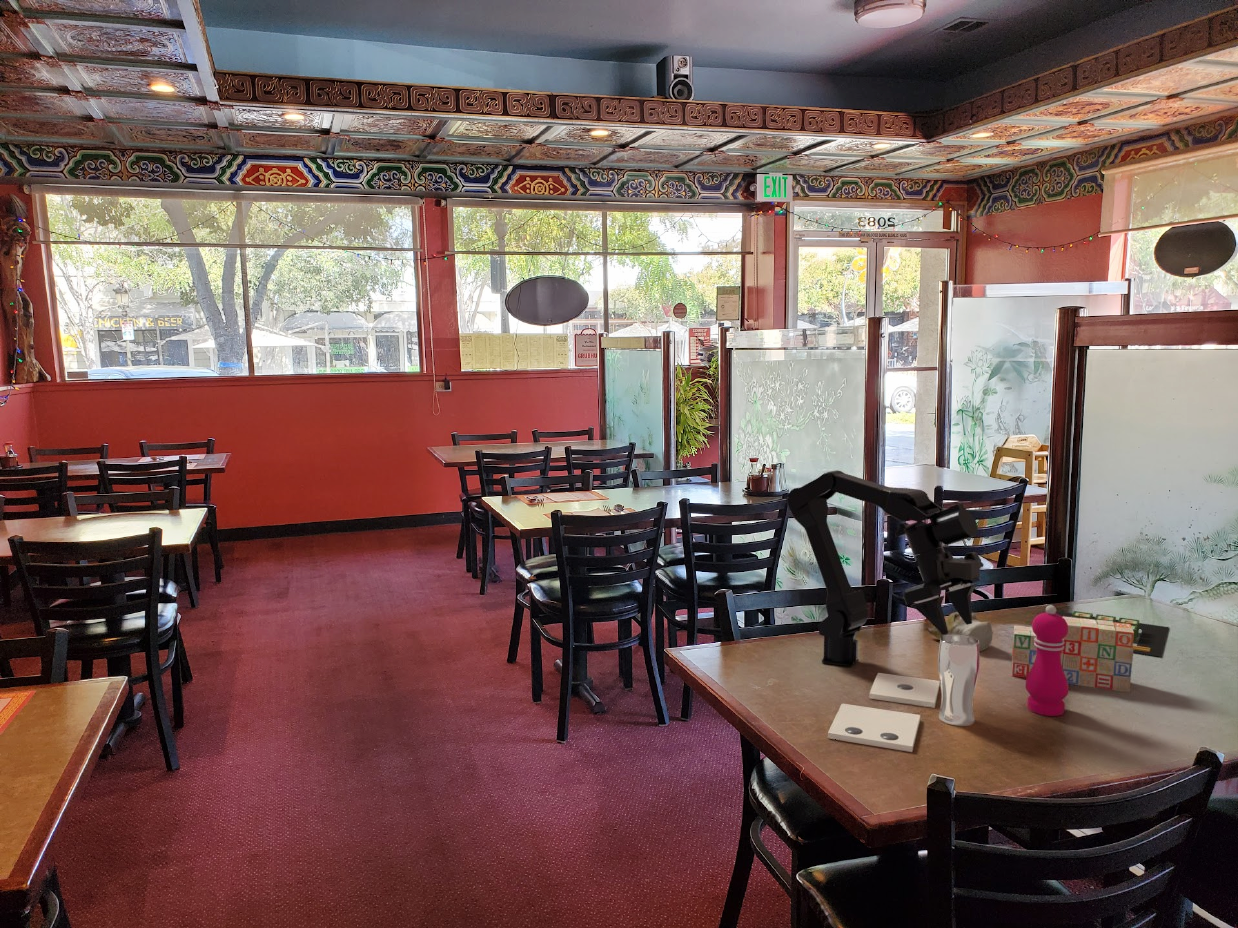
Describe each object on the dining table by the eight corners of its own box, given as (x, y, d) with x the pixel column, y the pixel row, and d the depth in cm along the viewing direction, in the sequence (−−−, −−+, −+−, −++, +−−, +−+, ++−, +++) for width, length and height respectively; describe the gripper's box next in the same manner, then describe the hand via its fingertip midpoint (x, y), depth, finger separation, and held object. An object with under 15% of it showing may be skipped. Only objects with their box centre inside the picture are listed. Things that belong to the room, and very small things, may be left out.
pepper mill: (1016, 702, 169) (1021, 600, 166) (1053, 701, 170) (1058, 599, 167) (1037, 718, 162) (1043, 611, 159) (1075, 716, 162) (1081, 610, 160)
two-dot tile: (827, 738, 154) (827, 732, 154) (841, 708, 167) (841, 703, 167) (912, 752, 149) (912, 746, 149) (920, 720, 161) (920, 714, 161)
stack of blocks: (1011, 677, 183) (1014, 618, 181) (1011, 667, 188) (1014, 610, 187) (1130, 692, 174) (1134, 631, 172) (1127, 681, 180) (1131, 622, 178)
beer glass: (980, 728, 158) (983, 646, 156) (939, 725, 159) (942, 644, 157) (973, 712, 164) (976, 634, 163) (933, 710, 166) (936, 632, 164)
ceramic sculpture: (970, 617, 193) (922, 604, 207) (970, 656, 194) (922, 640, 208) (1007, 612, 197) (959, 599, 211) (1007, 650, 198) (958, 635, 212)
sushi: (1035, 640, 207) (1036, 624, 207) (1054, 614, 227) (1054, 600, 227) (1160, 660, 193) (1162, 644, 192) (1168, 630, 213) (1169, 615, 213)
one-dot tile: (869, 698, 172) (869, 693, 172) (877, 677, 183) (877, 672, 183) (934, 707, 167) (935, 702, 167) (939, 685, 178) (939, 680, 178)
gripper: (938, 547, 162) (970, 630, 159) (987, 533, 175) (1018, 610, 171) (889, 563, 171) (918, 642, 167) (939, 548, 183) (967, 622, 180)
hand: (957, 628), depth 171 cm, fingers open, 9 cm apart
